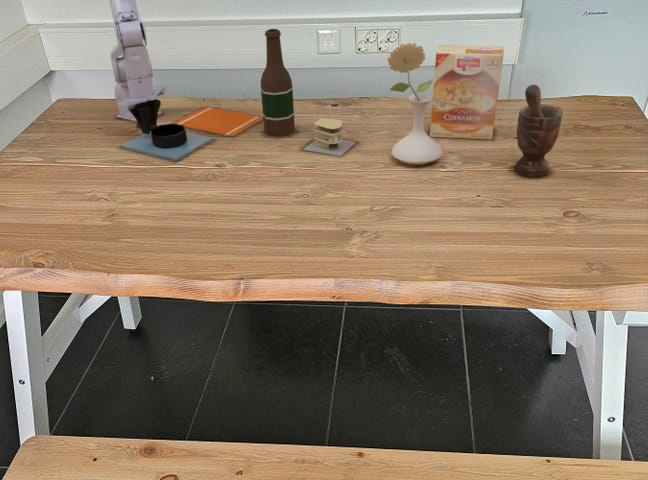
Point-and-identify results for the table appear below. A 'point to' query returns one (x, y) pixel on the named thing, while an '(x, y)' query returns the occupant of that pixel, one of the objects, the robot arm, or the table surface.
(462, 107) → the coffeecake box
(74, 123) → the table surface
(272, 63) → the beer bottle
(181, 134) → the skillet
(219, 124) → the tea towel
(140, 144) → the trivet
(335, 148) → the stacked layers on plate
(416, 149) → the flower in vase
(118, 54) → the robot arm
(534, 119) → the mortar and pestle
